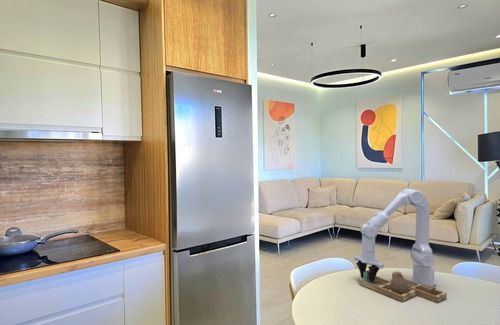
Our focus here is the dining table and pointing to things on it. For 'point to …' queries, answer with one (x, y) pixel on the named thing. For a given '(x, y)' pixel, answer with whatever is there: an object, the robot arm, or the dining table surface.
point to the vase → (399, 285)
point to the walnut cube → (428, 289)
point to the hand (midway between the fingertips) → (367, 279)
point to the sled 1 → (384, 287)
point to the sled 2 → (417, 287)
